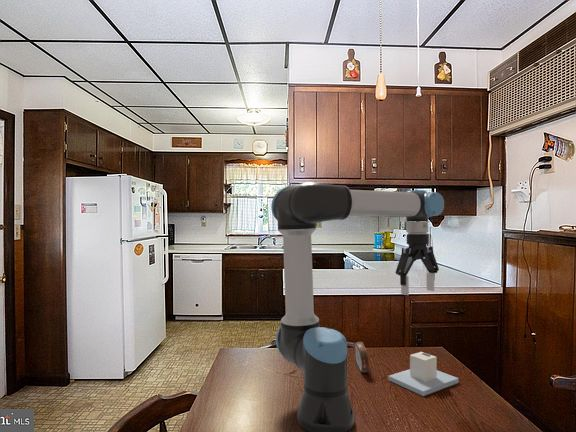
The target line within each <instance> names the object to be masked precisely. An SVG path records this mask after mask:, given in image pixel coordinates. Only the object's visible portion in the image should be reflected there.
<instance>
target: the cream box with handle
mask: <svg viewBox="0 0 576 432" xmlns="http://www.w3.org/2000/svg"><path fill="white" fill-rule="evenodd" d="M437 359H438V358H437V356H435V355H432V354H430V353H426V352H423V351H419V352H415V353H412V354H409V369H410V376H412V377H414V378H416V379H419V380H421V381H424V382H427V381H430V380H433V379H435V378H437V370H438V369H437V366H438V365H437V361H438V360H437Z"/></svg>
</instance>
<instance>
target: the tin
mask: <svg viewBox="0 0 576 432" xmlns="http://www.w3.org/2000/svg"><path fill="white" fill-rule="evenodd" d="M354 346H355V347H354V348H355V360H356V363H357V366H358V369H359V371H360V373H369V371H370V365H369V364H370V363H369V357H368V351H367V349H366V347H365V345H364V343H363V341H357V342H356V341H355V343H354Z"/></svg>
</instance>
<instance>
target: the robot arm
mask: <svg viewBox="0 0 576 432" xmlns="http://www.w3.org/2000/svg"><path fill="white" fill-rule="evenodd" d="M270 208H271V212H272V215H273V217H274V218H275V220H277V231H278V232H279V233H280V234H281V235H282V244H283V245H282V246H283V247H282V248H283V268H284V269H283V271H284V274H283V275H284V297H285V299H284V300H285V301H284V303H285V315H284V316H282V317H281V319H280V327H279V328H278V329H277V332H276V336H275V344H276V345H275V346H276V348H277V351H278V353H280V355H281V356H282V357H283V358H284V359H285V360H286V361H288V362H289V363H291V364H293V365H294V366H295V367H297V368H298V369H300V370H301V371H303V392H302V396H301V398H300V403H299V406H298V408H297V423H298V426H300V427H301V428H302V429H303V430H305V431H306V432H348V431H350V430H351V429H352V428H353V426H354V425H355V414H354V410H353V406H352V403H351V400H350V397H349V394H348V353H349V351H348V345H347V344H348V343H347V339H346V337H345V336H344V335H343V333H341V332H340V331H338V330H336V329H334V328H328V327H320V318H319V317H318V315H316V314H315V310H314V309H315V308H314V306H315V305H314V282H313V281H314V280H313V279H314V278H313V256H312V255H313V252H312V251H313V250H312V234H313V233H314V232H315V231H316V230H317V224H318V223H322V222H323V223H324V222H328V221H337V220H339V221H343V220H346V219H348V218H349V217H387V218H405V220H406V227H405V229H406V233H407V234H406V244H407V245H408V247H402V248H401V254H400V257H399V260H398V263H397V266H396V269H395V275H397V276H400V278H399V283H400V289H401V290H400V294H401V295H404V296H409V293H410V291H409V289H410V287H409V284H410V283H409V281H410V280H409V276H408V274H409V272H410V271H411V268H412V267H413V265H414V262H416V261H418V260H421V262H422V264H423V265H424V267H425V268H426V271H428V272H426V291H430V292H435V281H436V278H435V275H436V274H438V272H439V270H440V269H439V266H438V263H437V259H436V256H435V254H434V253H435V252H434V247H433V246H431V245H428V244H429V240H430V239H429V234H427V233H429V218H431V217H437V216H439V215H441V214H442V212H443V211H444V209H445V200H444V198H443V195H442V194H440V192H436V191H434V192H432V191H428V192H427V191H426V190H421V189H419V190H418V189H417V190H408V191H391V190H389V191H387V190H368V189H367V190H363V189H350V188H349V187H348V186H347V185H336V184H329V183H322V182H304V183H299V184H293V185H292V184H291V185H287V186H285V187H283V188H281V189H280V190H278V191H277V192H276V193H275V194H274V196H273V198H272V200H271V207H270Z"/></svg>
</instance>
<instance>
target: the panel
mask: <svg viewBox="0 0 576 432" xmlns="http://www.w3.org/2000/svg"><path fill="white" fill-rule="evenodd" d="M387 376H388V381H390V382H392V383H394V384H396V385H398V386H400V387H402V388H405V389H406V390H408V391H411V392H414V393H415V394H416V395H417V394H418V395H420V396H422V397H425V396H428V395H430V394H432V393H435V392H438V391H441V390H443V389H445V388H448V387H451V386H453V385H457V384H458V383H459V377H456V376H453V375H451V374H448V373H445V372H442V371H441V370H438V369H437V378H435V379H433V380H430V381H427V382H424V381H421V380H419V379H416V378H414V377H412V376H410V368H409V369H406V370H402V371H399V372H396V373H394V374H390V375H387Z"/></svg>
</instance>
